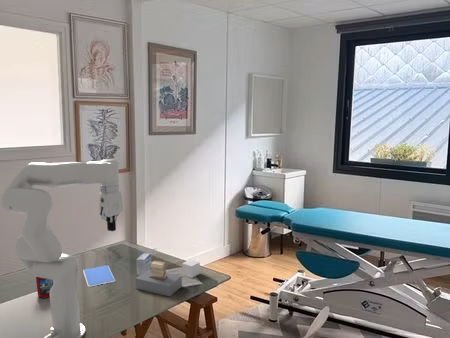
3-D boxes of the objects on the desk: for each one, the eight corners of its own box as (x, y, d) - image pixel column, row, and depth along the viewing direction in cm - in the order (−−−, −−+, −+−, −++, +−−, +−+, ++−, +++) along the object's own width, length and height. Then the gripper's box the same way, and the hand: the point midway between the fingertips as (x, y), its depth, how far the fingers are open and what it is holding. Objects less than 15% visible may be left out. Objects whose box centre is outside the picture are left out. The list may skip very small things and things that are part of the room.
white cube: (199, 273, 203) (199, 262, 202) (191, 278, 199) (191, 266, 197) (191, 270, 207) (191, 259, 206) (182, 274, 202) (182, 263, 201)
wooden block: (162, 290, 187) (162, 265, 184) (151, 287, 189) (150, 263, 187) (166, 287, 190) (165, 262, 187) (155, 284, 192) (154, 260, 190)
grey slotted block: (169, 296, 181) (169, 285, 180) (135, 288, 188) (135, 278, 187) (181, 285, 191) (181, 275, 190) (149, 278, 198) (148, 269, 197)
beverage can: (44, 300, 178) (41, 274, 176) (34, 296, 182) (31, 270, 179) (57, 293, 184) (55, 268, 182) (48, 289, 187) (45, 265, 185)
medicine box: (145, 276, 200) (144, 259, 198) (136, 275, 201) (136, 259, 199) (151, 269, 208) (150, 253, 206) (143, 268, 209) (142, 252, 207)
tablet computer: (115, 283, 195) (115, 280, 195) (88, 288, 190) (87, 286, 189) (108, 267, 212) (108, 264, 212) (82, 271, 207) (82, 269, 206)
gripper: (104, 193, 166) (106, 236, 169) (128, 186, 179) (129, 226, 182) (90, 191, 169) (92, 234, 172) (114, 184, 182) (116, 224, 185)
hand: (111, 230), depth 177 cm, fingers closed
